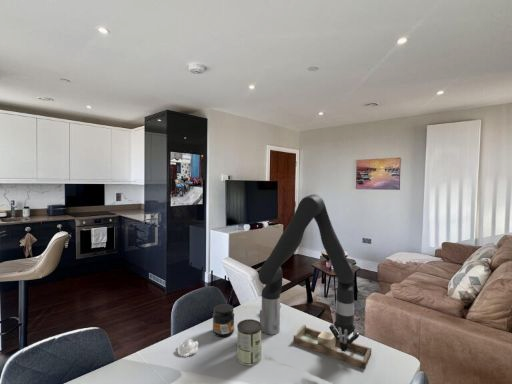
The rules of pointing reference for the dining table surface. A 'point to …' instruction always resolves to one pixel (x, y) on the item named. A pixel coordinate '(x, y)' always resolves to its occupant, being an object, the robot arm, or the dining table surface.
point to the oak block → (327, 340)
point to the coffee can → (249, 342)
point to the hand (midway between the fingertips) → (343, 350)
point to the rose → (187, 348)
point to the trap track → (310, 341)
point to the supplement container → (223, 320)
